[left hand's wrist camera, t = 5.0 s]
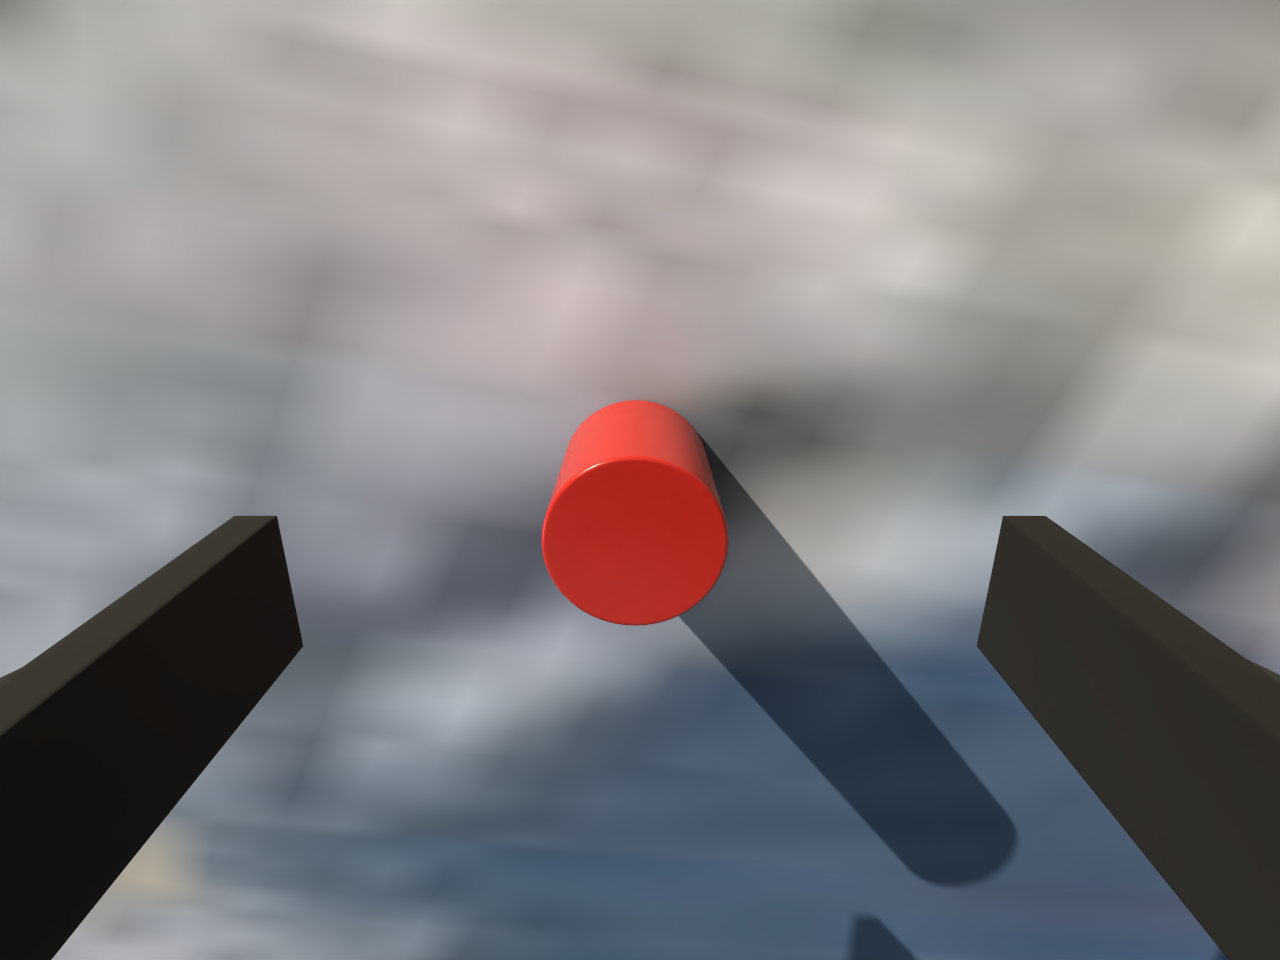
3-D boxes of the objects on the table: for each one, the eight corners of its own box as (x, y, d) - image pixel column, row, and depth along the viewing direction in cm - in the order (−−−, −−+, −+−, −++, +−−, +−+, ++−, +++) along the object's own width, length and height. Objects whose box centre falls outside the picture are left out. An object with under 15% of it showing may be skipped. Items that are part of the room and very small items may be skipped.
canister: (577, 541, 19) (558, 636, 15) (553, 409, 18) (524, 469, 13) (713, 525, 19) (736, 616, 15) (700, 390, 18) (720, 445, 13)
